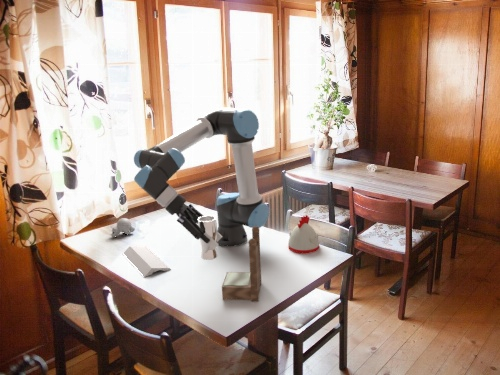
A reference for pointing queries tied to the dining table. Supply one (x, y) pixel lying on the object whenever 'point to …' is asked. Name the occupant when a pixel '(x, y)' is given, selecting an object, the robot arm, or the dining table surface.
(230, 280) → the wooden l-shaped piece
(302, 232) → the kitchen timer
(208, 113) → the robot arm
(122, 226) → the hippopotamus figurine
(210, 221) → the white tumbler cup
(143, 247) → the crown molding
